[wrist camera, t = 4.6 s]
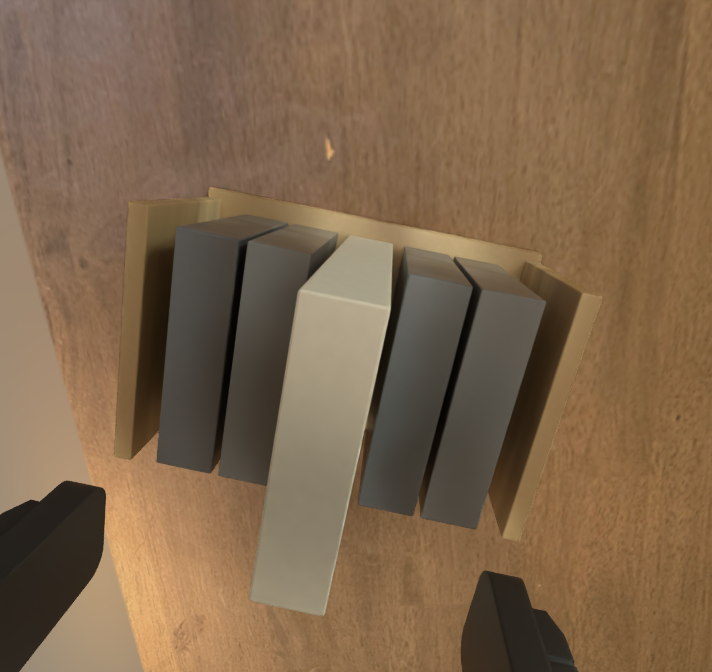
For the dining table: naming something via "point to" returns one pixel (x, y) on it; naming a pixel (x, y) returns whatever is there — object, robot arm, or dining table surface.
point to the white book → (322, 424)
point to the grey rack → (397, 362)
